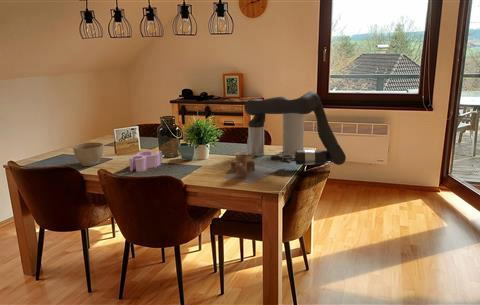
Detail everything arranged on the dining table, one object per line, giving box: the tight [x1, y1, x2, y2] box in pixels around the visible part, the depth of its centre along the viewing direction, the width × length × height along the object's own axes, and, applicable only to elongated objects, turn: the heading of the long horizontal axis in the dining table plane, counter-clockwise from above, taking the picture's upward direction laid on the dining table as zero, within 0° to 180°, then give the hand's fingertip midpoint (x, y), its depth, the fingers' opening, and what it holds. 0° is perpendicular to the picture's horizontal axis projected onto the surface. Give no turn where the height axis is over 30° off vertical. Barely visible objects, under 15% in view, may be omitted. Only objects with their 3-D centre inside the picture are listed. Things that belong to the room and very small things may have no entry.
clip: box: [128, 149, 163, 173], centre depth 216 cm, size 20×12×7 cm, turn 155°
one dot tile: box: [235, 151, 248, 179], centre depth 191 cm, size 5×5×12 cm
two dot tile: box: [230, 158, 256, 172], centre depth 204 cm, size 5×5×12 cm
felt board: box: [223, 165, 279, 184], centre depth 198 cm, size 17×25×1 cm
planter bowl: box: [72, 141, 104, 167], centre depth 223 cm, size 16×16×11 cm
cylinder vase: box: [282, 113, 305, 154], centre depth 237 cm, size 12×12×25 cm
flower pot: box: [178, 142, 196, 161], centre depth 229 cm, size 9×9×9 cm
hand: (271, 157), depth 202 cm, fingers closed
